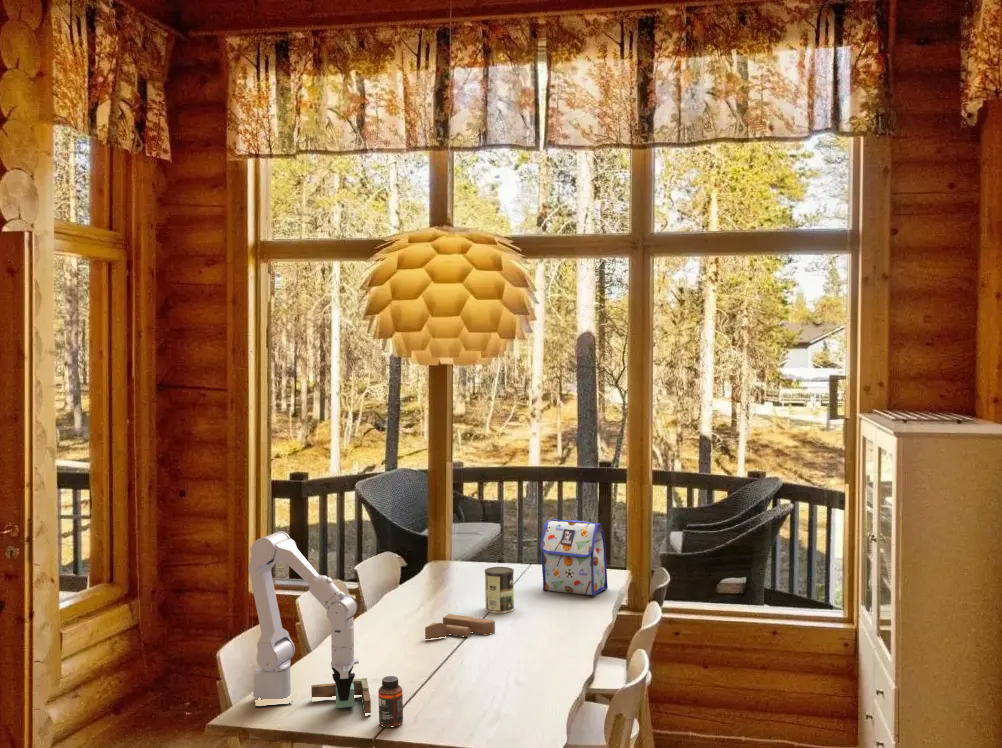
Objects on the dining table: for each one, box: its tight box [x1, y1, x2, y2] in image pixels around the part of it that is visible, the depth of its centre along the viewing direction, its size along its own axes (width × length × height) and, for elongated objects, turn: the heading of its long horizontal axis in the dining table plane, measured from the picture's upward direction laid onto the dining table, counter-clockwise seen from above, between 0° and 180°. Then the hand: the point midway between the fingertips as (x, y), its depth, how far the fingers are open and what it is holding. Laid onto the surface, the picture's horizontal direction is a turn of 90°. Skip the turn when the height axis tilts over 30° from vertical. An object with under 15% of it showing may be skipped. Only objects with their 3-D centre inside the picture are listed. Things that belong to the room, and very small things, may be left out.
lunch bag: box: [539, 518, 609, 597], centre depth 344 cm, size 23×17×27 cm
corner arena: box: [310, 677, 372, 714], centre depth 234 cm, size 14×14×5 cm
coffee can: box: [484, 566, 515, 614], centre depth 321 cm, size 10×10×14 cm
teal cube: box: [335, 683, 355, 709], centre depth 234 cm, size 4×4×4 cm
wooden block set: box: [424, 613, 496, 640], centre depth 291 cm, size 17×6×18 cm
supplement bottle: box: [378, 675, 404, 728], centre depth 224 cm, size 6×6×11 cm
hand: (343, 696), depth 234 cm, fingers closed on teal cube, 4 cm apart
